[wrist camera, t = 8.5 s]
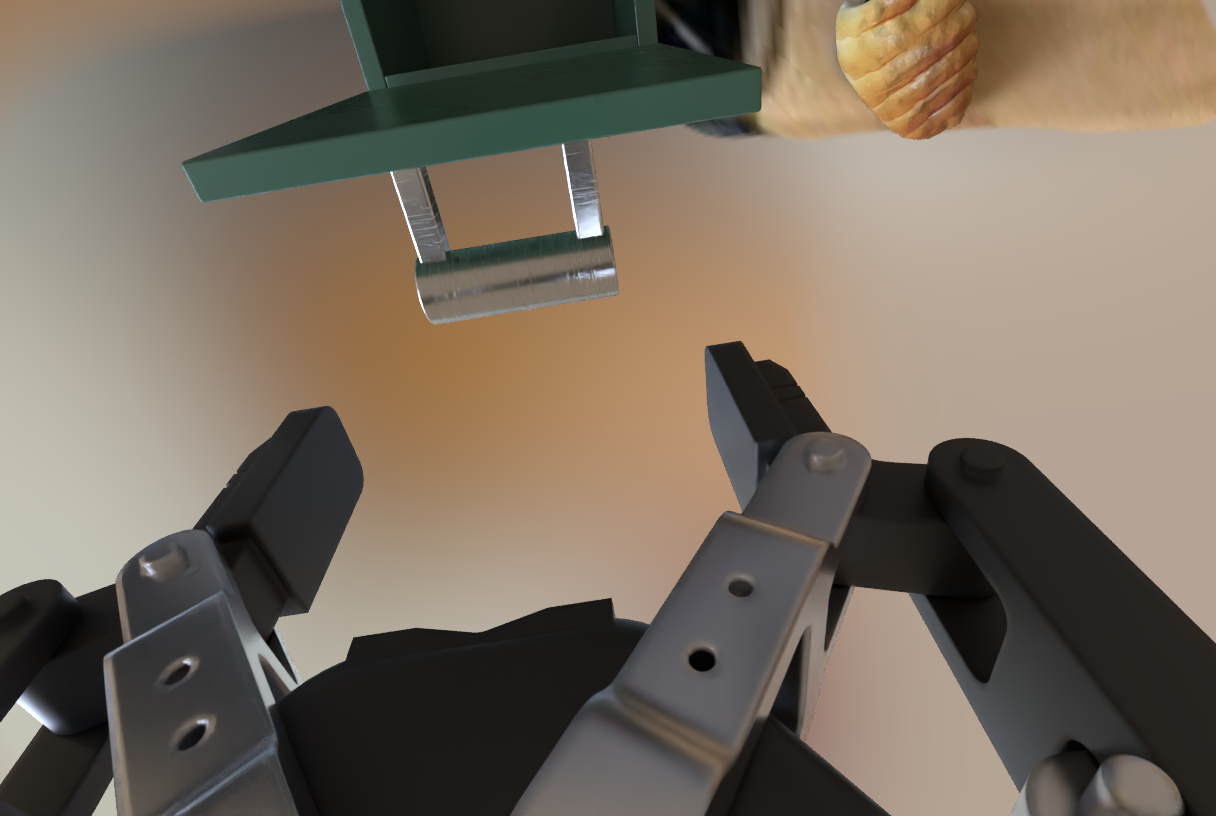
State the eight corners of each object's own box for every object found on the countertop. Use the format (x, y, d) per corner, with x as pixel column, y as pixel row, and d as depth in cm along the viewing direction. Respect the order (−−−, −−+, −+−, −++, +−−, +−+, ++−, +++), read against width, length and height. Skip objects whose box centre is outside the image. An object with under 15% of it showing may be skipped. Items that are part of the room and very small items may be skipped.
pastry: (984, 89, 34) (1028, 94, 31) (879, 165, 36) (910, 177, 33) (927, -73, 30) (971, -87, 27) (811, 22, 32) (839, 20, 29)
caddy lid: (178, 162, 11) (290, 377, 14) (762, 66, 11) (759, 303, 14) (364, 91, 22) (406, 220, 25) (659, 42, 22) (670, 177, 25)
